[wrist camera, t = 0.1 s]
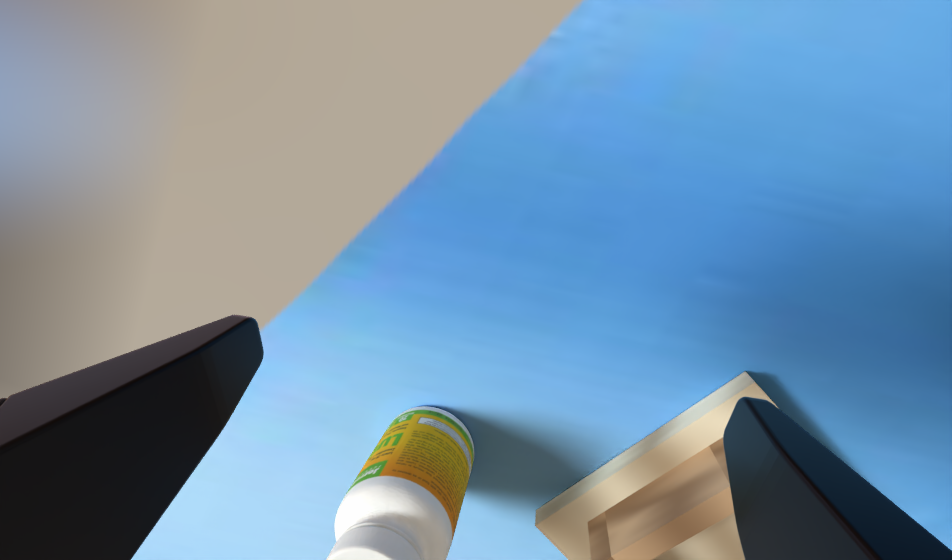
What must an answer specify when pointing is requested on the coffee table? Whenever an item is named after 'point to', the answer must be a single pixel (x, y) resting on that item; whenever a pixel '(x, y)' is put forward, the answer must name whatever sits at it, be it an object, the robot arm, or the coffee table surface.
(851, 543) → the robot arm
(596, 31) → the coffee table surface
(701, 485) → the collar board
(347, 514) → the supplement bottle
